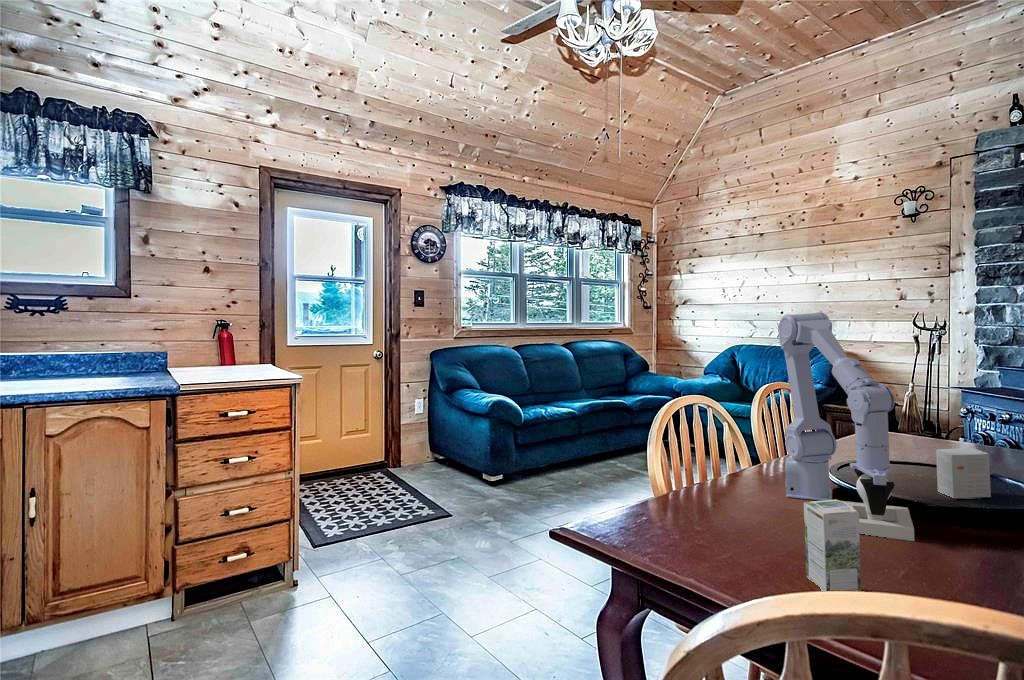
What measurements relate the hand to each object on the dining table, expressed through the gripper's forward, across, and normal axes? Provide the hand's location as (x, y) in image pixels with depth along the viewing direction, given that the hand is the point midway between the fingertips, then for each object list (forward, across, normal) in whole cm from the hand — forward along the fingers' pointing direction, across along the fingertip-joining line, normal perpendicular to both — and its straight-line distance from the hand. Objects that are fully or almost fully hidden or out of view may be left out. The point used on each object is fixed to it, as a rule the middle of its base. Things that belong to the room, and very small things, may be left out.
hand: (874, 509), depth 113 cm
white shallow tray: (+3, 0, 0) cm, 3 cm away
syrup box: (+4, +32, -11) cm, 34 cm away
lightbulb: (+4, 0, 0) cm, 4 cm away
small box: (+4, -24, +21) cm, 32 cm away
